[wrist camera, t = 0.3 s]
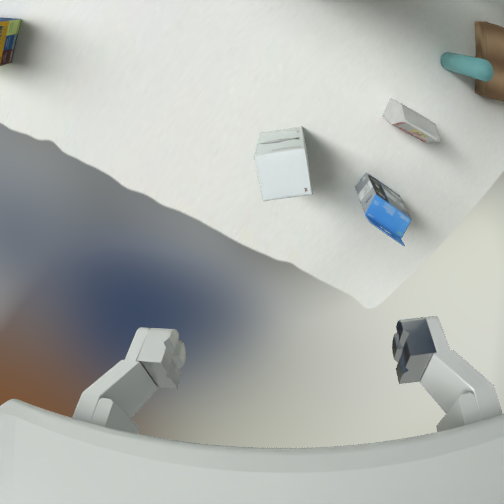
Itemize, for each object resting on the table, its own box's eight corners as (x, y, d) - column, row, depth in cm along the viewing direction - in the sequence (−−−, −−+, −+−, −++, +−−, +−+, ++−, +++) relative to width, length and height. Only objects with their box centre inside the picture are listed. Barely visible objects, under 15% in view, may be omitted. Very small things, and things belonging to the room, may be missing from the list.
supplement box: (302, 125, 51) (307, 147, 41) (308, 164, 55) (313, 196, 45) (259, 131, 52) (252, 155, 42) (267, 170, 57) (262, 203, 47)
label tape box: (400, 196, 56) (420, 231, 47) (387, 211, 59) (404, 248, 49) (366, 171, 55) (383, 203, 45) (353, 188, 57) (366, 223, 47)
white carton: (390, 97, 46) (410, 110, 38) (422, 115, 47) (446, 131, 39) (382, 116, 48) (400, 131, 40) (413, 132, 49) (435, 151, 41)
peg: (440, 51, 39) (475, 57, 29) (456, 54, 38) (493, 61, 29) (440, 69, 41) (475, 79, 31) (456, 71, 40) (492, 83, 31)
